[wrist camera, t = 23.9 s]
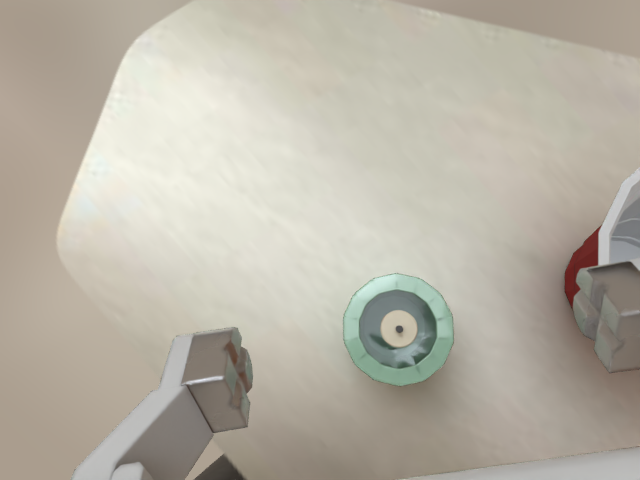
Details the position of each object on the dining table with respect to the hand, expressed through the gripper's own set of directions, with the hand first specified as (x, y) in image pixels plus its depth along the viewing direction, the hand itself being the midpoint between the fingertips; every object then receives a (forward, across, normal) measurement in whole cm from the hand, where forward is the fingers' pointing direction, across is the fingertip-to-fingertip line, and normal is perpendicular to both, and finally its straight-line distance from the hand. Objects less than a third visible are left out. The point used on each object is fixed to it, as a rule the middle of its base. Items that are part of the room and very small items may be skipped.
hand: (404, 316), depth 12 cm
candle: (+12, 0, +13) cm, 18 cm away
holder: (+13, 0, +14) cm, 19 cm away
